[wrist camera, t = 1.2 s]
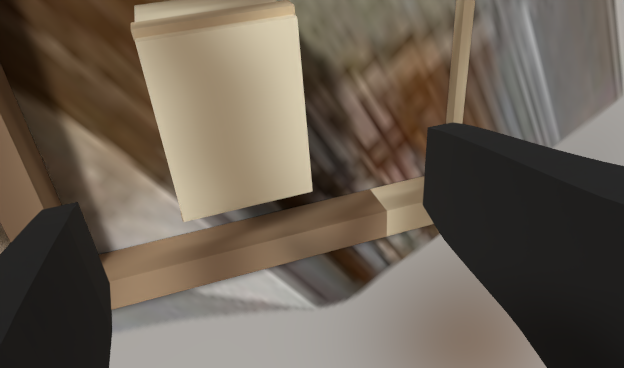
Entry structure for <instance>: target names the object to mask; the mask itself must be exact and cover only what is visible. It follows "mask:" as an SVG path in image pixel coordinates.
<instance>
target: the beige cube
mask: <svg viewBox="0 0 624 368" xmlns="http://www.w3.org/2000/svg"><path fill="white" fill-rule="evenodd" d="M134 7H135V22H133V23H131V32H132V36H133V39H134V41H135V43H136V47H137V50H138V54H139V58H140V61H141V65H142V69H143V73H144V76H145V80H146V84H147V87H148V91H149V95H150V98H151V102H152V106H153V109H154V113H155V117H156V121H157V124H158V128H159V132H160V135H161V139H162V143H163V146H164V150H165V154H166V157H167V161H168V165H169V169H170V172H171V176H172V180H173V183H174V187H175V191H176V194H177V198H178V202H179V205H180V210H181V216H182V220H183V222H186V221H190V220H195V219H199V218H203V217H207V216H211V215H216V214H220V213H224V212H228V211H232V210H237V209H241V208H245V207H249V206H253V205H258V204H262V203H266V202H270V201H274V200H279V199H283V198H287V197H291V196H296V195H300V194H304V193H308V192H312V191H313V190H312V179H311V167H310V156H309V145H308V133H307V122H306V111H305V99H304V88H303V77H302V66H301V54H300V43H299V32H298V20H297V17H296V16H295V7H294V5H293V4H292V3H291V2H289V1H288V0H283V1H276V0H172V1H164V2H157V3H150V4H143V5H136V6H134Z"/></svg>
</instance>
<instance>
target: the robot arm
mask: <svg viewBox="0 0 624 368" xmlns="http://www.w3.org/2000/svg"><path fill="white" fill-rule="evenodd" d="M423 207H424V208H425V210H426V212H427V213H428V215H429V217H430V218H431V220H432V222H433V223H434V225H435V226H436V228H437V229H438V231H439V232H440V234H441V235H442V237H443V238H444V240H445V241H446V242H447V243H448V245H449V246H450V247H451V248H452V250H453V251H454V252H455V253H456V254H457V255H458V257H459V258H460V259H461V260H462V261H463V262H464V264H465V265H466V266H467V267H468V268H469V269H470V271H471V272H472V273H473V274H474V275H475V276H476V278H477V279H478V280H479V281H480V282H481V283H482V284H483V286H484V287H485V288H486V289H487V290H488V291H489V293H490V294H491V295H492V296H493V297H494V298H495V299H496V301H497V302H498V303H499V304H500V305H501V306H502V307H503V309H504V310H505V311H506V312H507V313H508V315H509V316H510V317H511V318H512V320H513V321H514V322H515V323H516V325H517V326H518V327H519V328H520V330H521V331H522V332H523V334H524V335H525V337H526V338H527V340H528V341H529V342H530V344H531V345H532V347H533V348H534V350H535V351H536V352H537V354H538V355H539V357H540V358H541V360H542V361H543V362H544V364H545V365H546V367H547V368H624V166H620V165H616V164H611V163H607V162H602V161H599V160H594V159H590V158H586V157H582V156H578V155H574V154H571V153H567V152H563V151H559V150H556V149H552V148H549V147H545V146H542V145H538V144H535V143H531V142H528V141H524V140H521V139H518V138H514V137H511V136H507V135H504V134H500V133H497V132H493V131H490V130H486V129H482V128H479V127H475V126H470V125H466V124H461V123H454V122H452V123H447V124H442V125H438V126H433V127H428V133H427V147H426V162H425V176H424V191H423ZM111 338H112V312H111V294H110V282H109V280H108V277H107V275H106V272H105V270H104V267H103V265H102V262H101V260H100V257H99V255H98V252H97V250H96V247H95V245H94V242H93V240H92V237H91V235H90V232H89V230H88V227H87V224H86V222H85V219H84V217H83V214H82V212H81V209H80V207H79V204H78V202H75V203H71V204H66V205H61V206H57V207H52V208H47V209H42V210H41V211H40V212H39V213H38V214H37V215H36V216H35V217H34V218H33V219H32V220H31V221H30V222H29V223H28V224H27V226H26V227H25V228H24V229H23V230H22V231H21V232H20V233H19V234H18V235H17V237H16V238H15V239H14V240H13V241H12V242H11V243H10V244H9V245H8V247H7V248H6V249H5V250H4V251H3V252H2V253H1V254H0V368H109V361H110V349H111Z"/></svg>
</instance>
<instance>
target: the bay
mask: <svg viewBox="0 0 624 368" xmlns="http://www.w3.org/2000/svg"><path fill="white" fill-rule="evenodd" d="M474 6H475V0H456V11H455V22H454V34H453V46H452V58H451V70H450V82H449V94H448V105H447V117H446V124H447V123H452V122H454V123H461V124H462V121H463V111H464V102H465V92H466V83H467V73H468V63H469V54H470V44H471V35H472V25H473V16H474ZM423 191H424V176H423V177H418V178H414V179H410V180H406V181H402V182H398V183H394V184H389V185H385V186H381V187H377V188H373V189H369V190H365V191H361V192H356V193H352V194H348V195H344V196H340V197H336V198H332V199H327V200H323V201H319V202H315V203H311V204H307V205H303V206H298V207H294V208H290V209H286V210H282V211H278V212H274V213H270V214H265V215H261V216H257V217H253V218H249V219H245V220H241V221H236V222H232V223H228V224H224V225H220V226H216V227H212V228H207V229H203V230H199V231H195V232H191V233H187V234H183V235H179V236H174V237H170V238H166V239H162V240H158V241H154V242H150V243H145V244H141V245H137V246H133V247H129V248H125V249H121V250H117V251H112V252H108V253H104V254H100V255H99V257H100V260H101V262H102V265H103V267H104V270H105V272H106V275H107V277H108V280H109V282H110V294H111V310H112V309H116V308H120V307H123V306H127V305H131V304H135V303H138V302H142V301H146V300H150V299H153V298H157V297H161V296H165V295H168V294H172V293H176V292H180V291H184V290H187V289H191V288H195V287H199V286H202V285H206V284H210V283H214V282H217V281H221V280H225V279H229V278H232V277H236V276H240V275H244V274H247V273H251V272H255V271H259V270H262V269H266V268H270V267H274V266H277V265H281V264H285V263H289V262H292V261H296V260H300V259H304V258H307V257H311V256H315V255H319V254H322V253H326V252H330V251H334V250H337V249H341V248H345V247H349V246H352V245H356V244H360V243H364V242H367V241H371V240H375V239H379V238H382V237H386V236H390V235H394V234H397V233H401V232H405V231H409V230H412V229H416V228H420V227H424V226H427V225H431V224H434V223H433V222H432V220H431V218H430V217H429V215H428V213H427V212H426V210H425V208H424V207H423ZM57 206H61V203H60V201H59V198H58V196H57V194H56V191H55V189H54V187H53V184H52V182H51V180H50V177H49V175H48V173H47V170H46V168H45V166H44V163H43V161H42V159H41V156H40V154H39V152H38V150H37V147H36V145H35V143H34V140H33V138H32V136H31V133H30V131H29V129H28V126H27V124H26V122H25V119H24V117H23V115H22V112H21V110H20V108H19V105H18V103H17V101H16V98H15V96H14V94H13V91H12V89H11V87H10V84H9V82H8V80H7V78H6V75H5V73H4V71H3V68H2V66H1V64H0V223H1V225H2V227H3V229H4V231H5V233H6V235H7V236H8V238H9V240H10V242H12V241H13V240H14V239H15V238H16V237H17V235H18V234H19V233H20V232H21V231H22V230H23V229H24V228H25V227H26V226H27V224H28V223H29V222H30V221H31V220H32V219H33V218H34V217H35V216H36V215H37V214H38V213H39V212H40V211H41V210H42V209H47V208H52V207H57Z"/></svg>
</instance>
